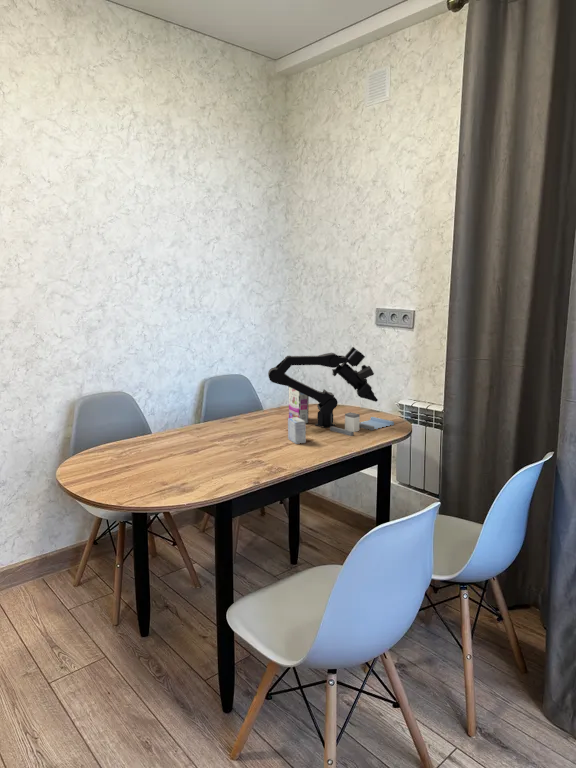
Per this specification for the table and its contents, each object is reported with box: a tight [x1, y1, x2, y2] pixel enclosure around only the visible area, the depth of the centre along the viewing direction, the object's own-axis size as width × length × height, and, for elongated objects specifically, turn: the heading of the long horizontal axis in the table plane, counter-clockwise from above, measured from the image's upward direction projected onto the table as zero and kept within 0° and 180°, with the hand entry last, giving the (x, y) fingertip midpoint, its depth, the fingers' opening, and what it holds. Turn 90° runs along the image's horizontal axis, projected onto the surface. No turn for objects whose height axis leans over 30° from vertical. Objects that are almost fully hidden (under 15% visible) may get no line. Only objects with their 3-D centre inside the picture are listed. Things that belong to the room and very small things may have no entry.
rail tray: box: [329, 416, 395, 437], centre depth 226 cm, size 27×12×2 cm, turn 130°
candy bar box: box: [288, 387, 310, 424], centre depth 237 cm, size 11×5×16 cm, turn 25°
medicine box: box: [287, 417, 307, 445], centre depth 206 cm, size 8×4×9 cm, turn 22°
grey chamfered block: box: [344, 412, 361, 433], centre depth 222 cm, size 4×5×7 cm
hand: (375, 397), depth 230 cm, fingers open, 9 cm apart
